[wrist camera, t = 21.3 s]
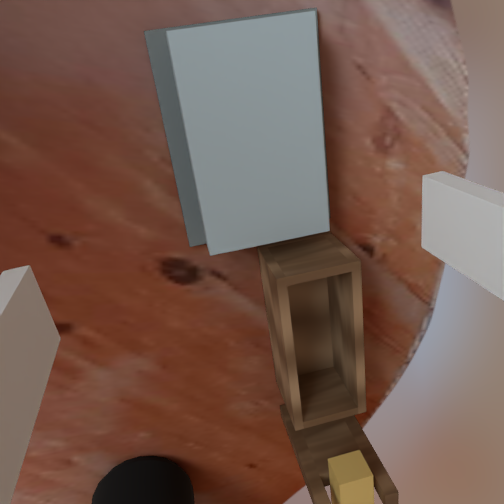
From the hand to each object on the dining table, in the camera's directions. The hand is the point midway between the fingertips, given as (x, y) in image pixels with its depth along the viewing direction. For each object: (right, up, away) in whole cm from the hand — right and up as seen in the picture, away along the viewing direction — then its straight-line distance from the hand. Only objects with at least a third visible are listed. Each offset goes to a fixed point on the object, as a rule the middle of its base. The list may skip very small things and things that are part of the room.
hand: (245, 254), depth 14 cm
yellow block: (+9, -23, +26) cm, 36 cm away
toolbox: (+5, -8, +30) cm, 32 cm away
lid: (0, +9, +19) cm, 21 cm away
